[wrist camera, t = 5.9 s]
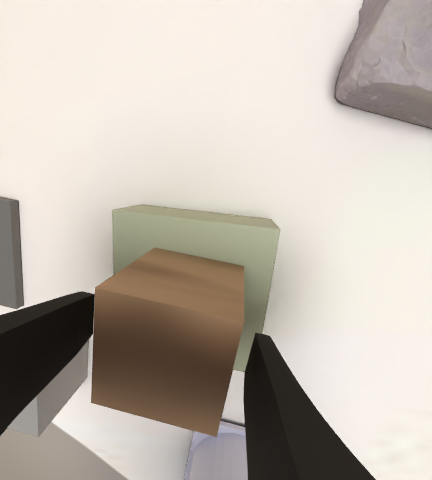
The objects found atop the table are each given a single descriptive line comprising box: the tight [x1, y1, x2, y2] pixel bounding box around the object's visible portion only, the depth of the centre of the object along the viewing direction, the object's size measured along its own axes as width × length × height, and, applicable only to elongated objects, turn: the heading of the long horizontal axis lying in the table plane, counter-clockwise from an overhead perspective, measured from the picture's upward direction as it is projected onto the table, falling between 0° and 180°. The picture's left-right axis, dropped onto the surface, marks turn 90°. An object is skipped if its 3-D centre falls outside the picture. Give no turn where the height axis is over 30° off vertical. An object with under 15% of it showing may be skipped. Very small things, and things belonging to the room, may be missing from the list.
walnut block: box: [91, 248, 244, 437], centre depth 10 cm, size 5×5×5 cm
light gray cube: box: [7, 339, 89, 437], centre depth 17 cm, size 5×5×5 cm
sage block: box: [112, 205, 280, 372], centre depth 14 cm, size 9×9×4 cm
